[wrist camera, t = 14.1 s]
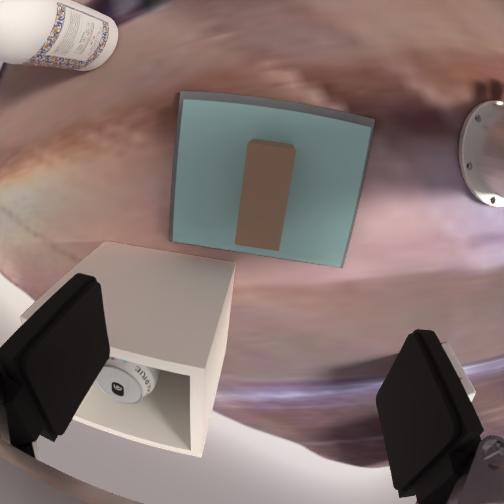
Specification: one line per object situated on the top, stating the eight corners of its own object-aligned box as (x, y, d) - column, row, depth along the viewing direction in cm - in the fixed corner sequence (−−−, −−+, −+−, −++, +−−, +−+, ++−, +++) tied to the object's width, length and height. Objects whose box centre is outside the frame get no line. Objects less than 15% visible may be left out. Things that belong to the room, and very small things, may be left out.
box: (105, 240, 35) (19, 316, 20) (235, 262, 35) (204, 368, 20) (114, 326, 41) (57, 412, 25) (225, 350, 40) (201, 457, 25)
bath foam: (61, 47, 26) (-74, 34, 8) (102, 5, 24) (-25, -43, 6) (86, 83, 28) (-61, 84, 10) (131, 40, 26) (-8, -6, 7)
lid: (190, 100, 28) (163, 95, 21) (365, 126, 27) (391, 129, 20) (178, 233, 33) (153, 264, 27) (336, 258, 33) (350, 295, 26)
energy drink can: (194, 286, 37) (151, 378, 23) (184, 325, 39) (146, 416, 25) (146, 270, 36) (86, 351, 23) (141, 309, 39) (89, 392, 25)
